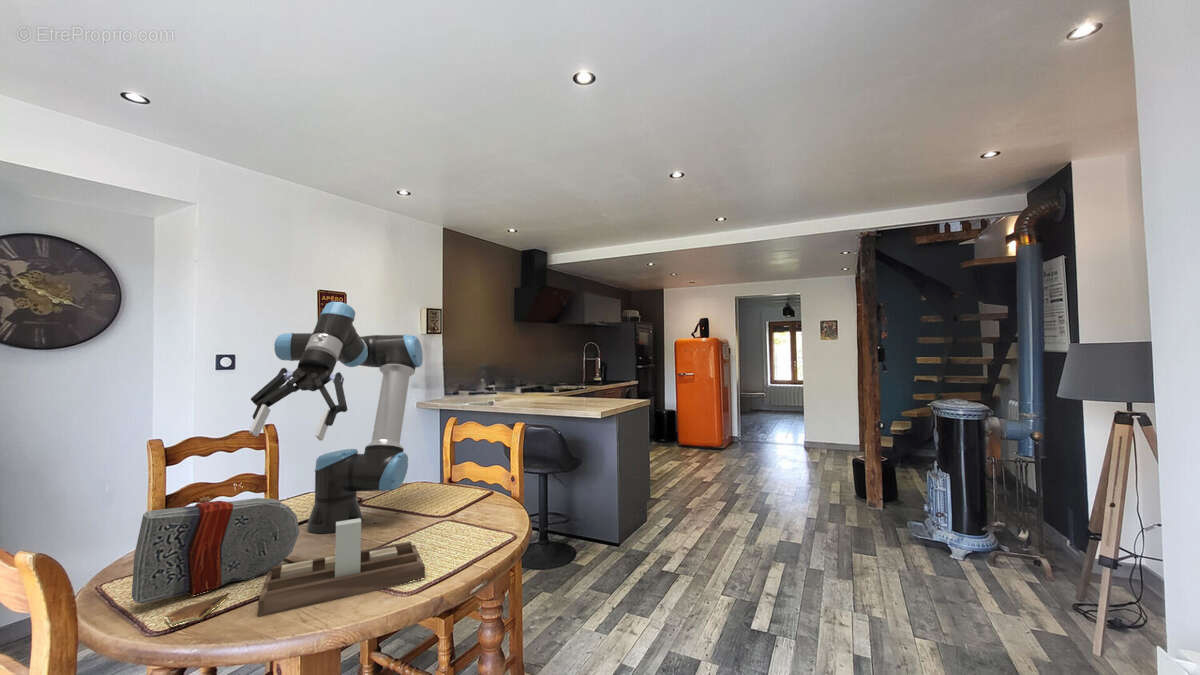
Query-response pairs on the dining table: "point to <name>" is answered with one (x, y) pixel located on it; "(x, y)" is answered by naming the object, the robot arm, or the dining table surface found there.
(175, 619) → the shard
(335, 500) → the robot arm
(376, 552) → the birch offcut
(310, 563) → the birch offcut
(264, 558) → the decorative stone tablet
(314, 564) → the walnut rack
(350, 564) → the tall sheet
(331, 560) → the birch offcut
